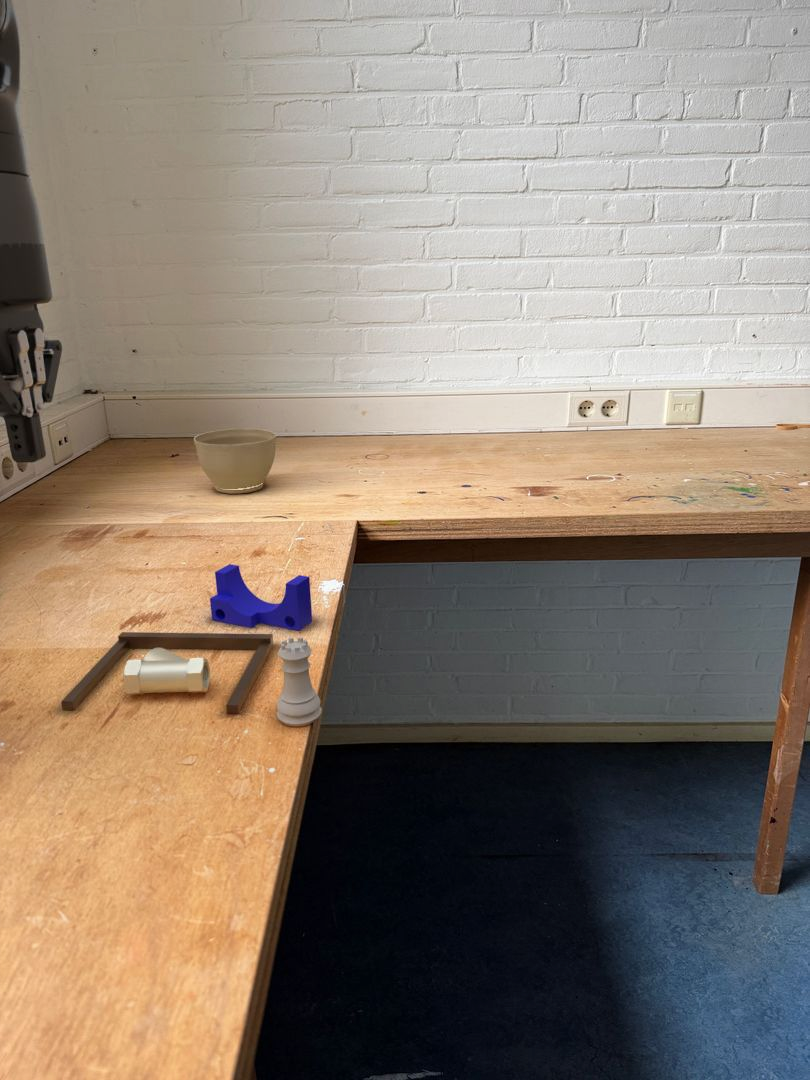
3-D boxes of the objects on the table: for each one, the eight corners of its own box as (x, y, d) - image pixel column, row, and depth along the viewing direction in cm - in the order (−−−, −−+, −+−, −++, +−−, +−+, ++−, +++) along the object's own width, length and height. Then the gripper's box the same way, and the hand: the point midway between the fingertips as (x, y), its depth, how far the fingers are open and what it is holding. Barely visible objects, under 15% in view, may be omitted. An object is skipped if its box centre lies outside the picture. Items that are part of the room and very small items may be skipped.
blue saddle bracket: (212, 620, 101) (207, 576, 99) (233, 607, 105) (229, 564, 103) (292, 635, 96) (289, 589, 94) (312, 621, 100) (309, 576, 98)
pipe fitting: (145, 674, 88) (125, 701, 82) (141, 641, 87) (121, 666, 81) (217, 672, 88) (204, 699, 82) (214, 639, 87) (200, 664, 81)
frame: (62, 710, 81) (60, 696, 80) (123, 643, 95) (121, 631, 95) (238, 713, 79) (237, 700, 79) (273, 645, 94) (272, 633, 93)
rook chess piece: (331, 712, 79) (327, 639, 77) (301, 733, 76) (296, 657, 73) (297, 700, 82) (292, 628, 79) (267, 719, 78) (260, 646, 76)
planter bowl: (219, 504, 152) (213, 447, 148) (187, 487, 164) (181, 435, 161) (294, 489, 160) (290, 436, 157) (258, 475, 173) (254, 425, 169)
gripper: (-8, 244, 68) (27, 444, 74) (-115, 239, 56) (-62, 480, 61) (77, 242, 67) (106, 443, 73) (-12, 236, 55) (32, 480, 61)
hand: (29, 460), depth 67 cm, fingers closed
